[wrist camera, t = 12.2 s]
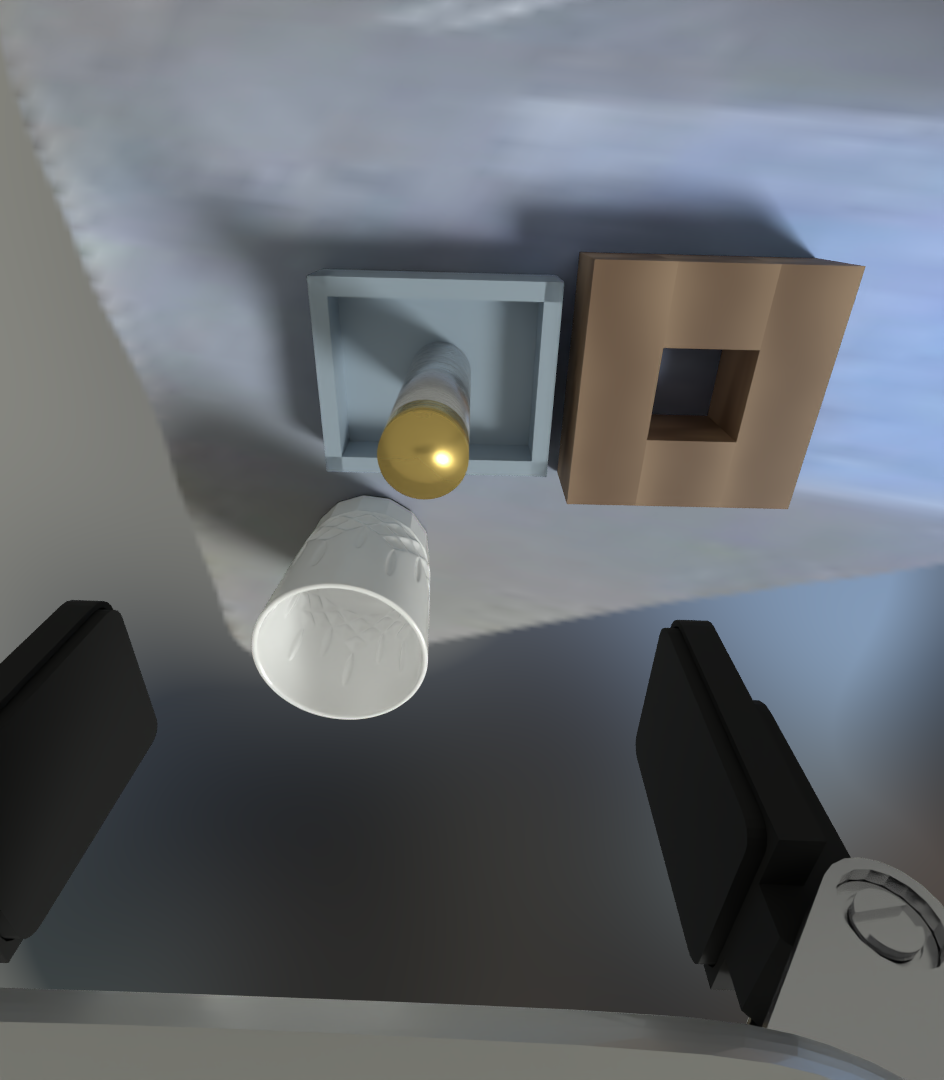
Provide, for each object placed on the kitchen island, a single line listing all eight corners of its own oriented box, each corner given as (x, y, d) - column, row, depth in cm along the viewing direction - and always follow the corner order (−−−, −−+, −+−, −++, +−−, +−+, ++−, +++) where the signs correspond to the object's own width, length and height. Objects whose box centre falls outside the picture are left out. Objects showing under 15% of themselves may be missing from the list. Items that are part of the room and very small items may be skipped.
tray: (556, 274, 28) (564, 282, 25) (540, 454, 32) (546, 476, 30) (322, 268, 28) (306, 275, 25) (338, 449, 32) (326, 471, 30)
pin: (471, 342, 29) (470, 414, 19) (470, 403, 30) (467, 500, 20) (409, 340, 29) (374, 411, 19) (411, 402, 30) (379, 498, 20)
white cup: (305, 590, 37) (253, 710, 28) (307, 475, 33) (247, 572, 24) (431, 606, 38) (417, 728, 29) (447, 495, 34) (437, 596, 25)
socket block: (816, 258, 28) (865, 266, 24) (755, 476, 33) (787, 509, 30) (579, 251, 28) (594, 259, 24) (557, 471, 33) (566, 503, 29)
